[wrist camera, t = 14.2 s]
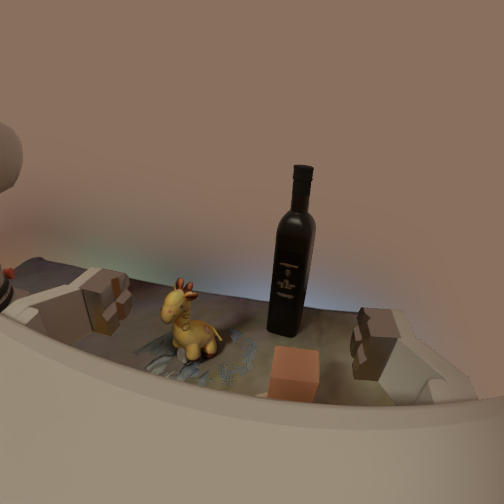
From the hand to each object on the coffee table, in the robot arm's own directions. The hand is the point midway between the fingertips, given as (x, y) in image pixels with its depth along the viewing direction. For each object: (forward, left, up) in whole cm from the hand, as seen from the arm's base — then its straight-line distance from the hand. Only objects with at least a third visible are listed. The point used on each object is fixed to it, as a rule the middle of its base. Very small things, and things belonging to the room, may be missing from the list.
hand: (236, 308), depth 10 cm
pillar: (-9, +9, -25) cm, 28 cm away
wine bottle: (-31, +21, -30) cm, 48 cm away
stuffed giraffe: (-28, +4, -31) cm, 42 cm away
